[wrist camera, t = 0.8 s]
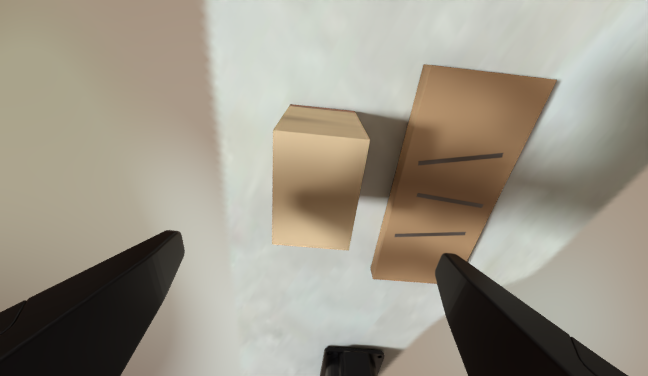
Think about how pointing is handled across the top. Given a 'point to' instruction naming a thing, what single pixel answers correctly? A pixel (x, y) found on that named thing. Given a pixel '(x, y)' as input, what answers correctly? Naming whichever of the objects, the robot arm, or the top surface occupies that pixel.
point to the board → (453, 166)
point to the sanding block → (317, 176)
